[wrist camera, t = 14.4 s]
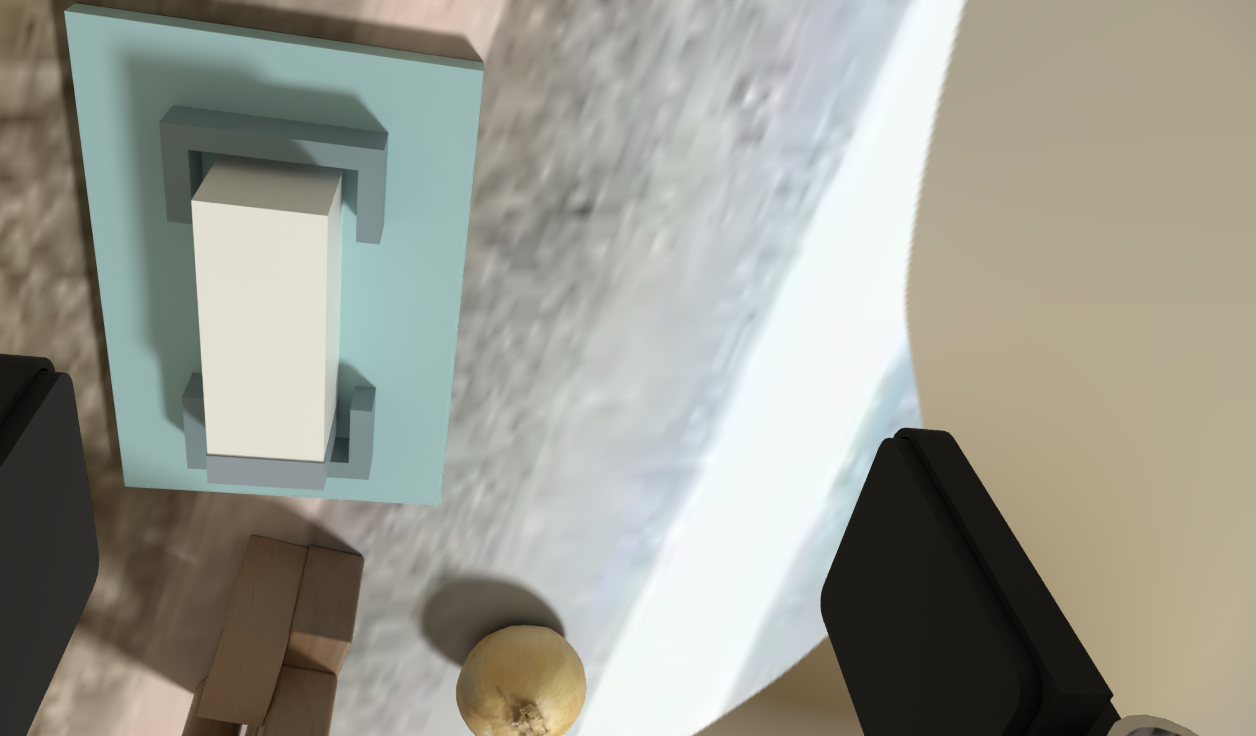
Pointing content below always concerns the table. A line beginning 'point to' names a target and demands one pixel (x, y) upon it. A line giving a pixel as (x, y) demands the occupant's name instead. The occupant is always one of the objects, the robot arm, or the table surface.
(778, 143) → the table surface
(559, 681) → the onion
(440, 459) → the cradle
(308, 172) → the white pillar block
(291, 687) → the wooden toy
